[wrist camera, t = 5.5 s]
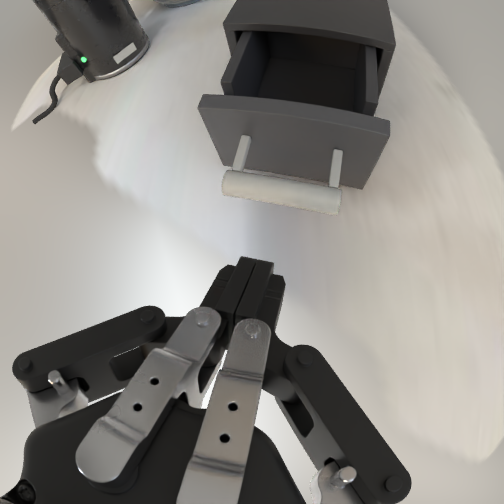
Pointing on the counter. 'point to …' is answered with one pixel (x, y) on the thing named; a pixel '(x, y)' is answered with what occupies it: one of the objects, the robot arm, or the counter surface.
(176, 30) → the counter surface
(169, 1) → the vase
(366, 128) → the dark grey drawer
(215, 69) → the counter surface
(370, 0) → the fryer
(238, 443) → the robot arm
